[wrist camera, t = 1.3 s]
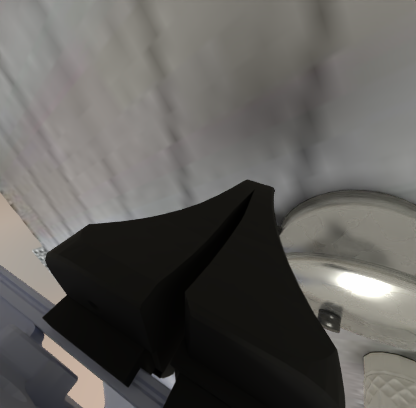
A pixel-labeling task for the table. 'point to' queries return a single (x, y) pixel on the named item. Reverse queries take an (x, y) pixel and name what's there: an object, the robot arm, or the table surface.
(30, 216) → the table surface
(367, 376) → the white cup
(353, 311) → the lid
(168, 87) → the table surface
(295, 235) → the grey flat round piece
